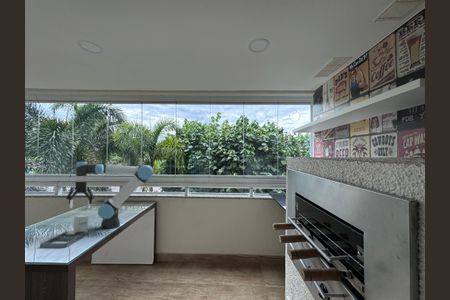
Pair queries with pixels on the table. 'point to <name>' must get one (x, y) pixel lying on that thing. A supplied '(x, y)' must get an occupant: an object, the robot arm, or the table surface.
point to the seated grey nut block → (71, 234)
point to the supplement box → (80, 223)
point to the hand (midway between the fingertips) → (80, 208)
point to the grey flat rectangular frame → (61, 238)
